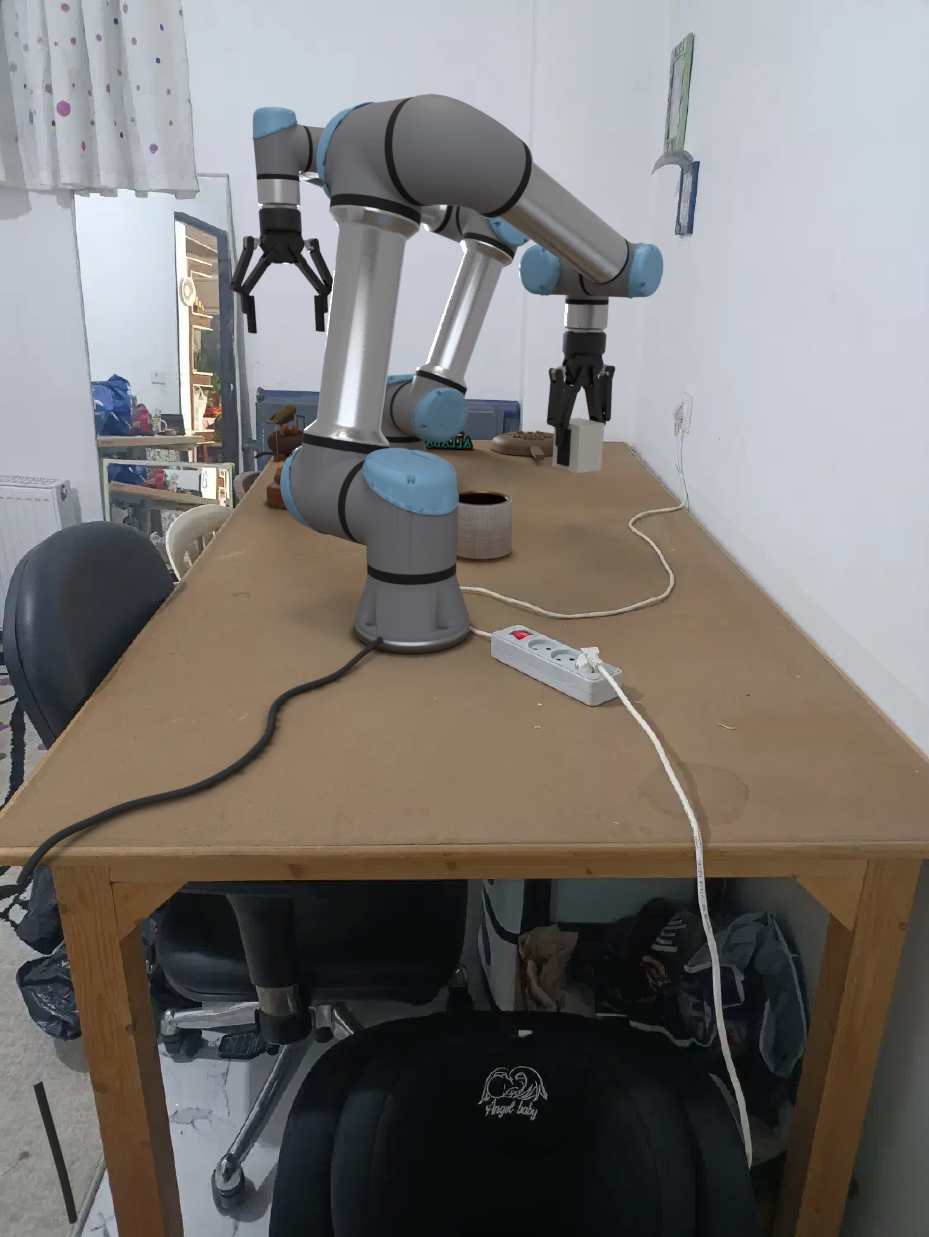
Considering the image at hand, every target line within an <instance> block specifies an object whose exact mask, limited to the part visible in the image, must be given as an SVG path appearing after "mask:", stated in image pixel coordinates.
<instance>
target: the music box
mask: <svg viewBox="0 0 929 1237" xmlns="http://www.w3.org/2000/svg"><path fill="white" fill-rule="evenodd" d="M296 414H297V408H296V406H295V405H294V404H292V403H291V404H286V405H285V406H284V408H282V409H280V410H279V411H277V412H275V413H274V414H273V415H272V416H271V417H270V418H269V420H266V421H264V424H269V425H275V429H274V430H275V431H271V432H270V433H269V435H268V436H267V439H266V443H267V447H268V448H269V451H271V452H274V453H277V455H276V456H274V455H272V458H273V459H272V460H273V463H275V464H276V463H277V468H276V471H275V473H274V475H273V481H271V482H270V483H269V484H268V485H267V486H266V501H267V504H268V505H269V506H271V507H275V508H279V509H280V508H281V509H287V508H286V506H285V504H284V501H283V498H282V494H281V486H280V480H281V472H282V469H283V466H281V467H280V462H281V463H282V462H283V464H284V463H285V461H286V459H287V458H288V457H290V456H291V455H292V452H293V451H294V450H295V449H296V448H298V447H300V446H302V440H303V432H304V429H299V428H298V425H297V424H293V425H292V426H291V429H289V425H288V424H289V423H290V422H291V423H292V421H293V422H295V415H296ZM278 425H279V426H280V427H279V429H280V430H277V428H278ZM283 425H284V426H283ZM278 454H280V455H278Z"/></svg>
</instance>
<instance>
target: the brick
mask: <svg viewBox="0 0 929 1237" xmlns="http://www.w3.org/2000/svg"><path fill="white" fill-rule="evenodd" d="M553 428H554V429H553V433H554V445H553V455H552V465H551V466H552V467H554V468H558V469H560V470H564V471H567V472H570V473H574V474H584V473H591V472H597V471H601V470H602V460H603V448H604V435H605V426H604V423H600V422H596V421H591V420H589V419H586V418H582V417H574V418H573V417H572V418H570V421H569V425H568V428H567V429H571V444H570V460H569V466H563V465H560V464H557V446H556V445H555V436H556V428H555V427H553Z"/></svg>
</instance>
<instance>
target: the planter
mask: <svg viewBox="0 0 929 1237" xmlns="http://www.w3.org/2000/svg"><path fill="white" fill-rule="evenodd" d="M458 494H459V503H458V530H457V559H458V558H459V559H461V560H466V561H471V562H472V561H473V562H488V561H496V560H499V559H502V558H505V557H506V556H508V555H509V554H510V553H511V551H512V536H513V533H512V532H513V531H512V530H513V497H512V496H511V495H509V494H507V493H504V492H499V491H494V490H482V489H480V490H476V489H475V490H462V491H458Z"/></svg>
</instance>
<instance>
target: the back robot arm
mask: <svg viewBox="0 0 929 1237" xmlns="http://www.w3.org/2000/svg"><path fill="white" fill-rule="evenodd" d="M324 129H325V127H321V126H311V125H310V126H309V125H302V124H300V123H298V120H297V115H296V113H295V111H294V110H292V109H290V108H286V107H280V106H279V107H278V106H263V107H259V108H256V109H255V110H254V112H253V113H252V140H253V141H252V142H253V151H254V162H255V163H254V164H255V173H256V174H255V175H256V191H257V192H256V193H257V194H256V195H257V205H259V206H261V208H259V210H258V222H259V233H260V234H259V238H258V237H254V236H253V235H245V236H243V238H242V251H241V253H240V256H239V259H238V261H237V264H236V267H235V269H234V272H233V276H232V277H231V279H230V283H229V285H228V289H229V290H230V291H231V292H234V293H236V294H238V295H239V298H240V310H241V313H242V314H243V315H244V314H245V315H246V323H247V333H249V334H254V335H255V334H258V329H257V328H258V327H257V326H258V325H257V313H256V300H255V299H256V298H255V295H251V293H252V291H253V289H255V287H256V285H257V284H258V283H259V281H260V279H261V278H262V277H263V275H264V274H265V272H266V271H267V269H268V268H269V267H270V266H271V265H273V264H274V265H281V264H283V265H294V266H295V267H297V268H298V270H299V271H300V272H301V274H302V275H303V276H304V277H305V279H306V280H307V281H308V283H309V284H310V285H311V286H312V288H313V289H314V291H315V292H316V293H317V294H316V295H315V294H314V295H313V301H314V302H313V304H314V305H313V306H314V323H315V324H314V325H315V332H319V333H325V332H326V324H325V323H326V321H325V314H329V296H330V294H332V286H333V278H334V277H333V275H332V274H331V272H330V269H329V267H328V265H327V263H326V261H325V258H324V256H323V255H322V252H321V247H320V240H319V239H318V238H316V237H315V238H314V237H313V238H309V239H304V238H303V224H302V212H301V210H300V209H298V208H299V207H300V206H301V203H302V202H301V187H300V186H301V185H300V183H301V182H302V183H306V184H308V185H310V186H311V185H312V186H314V187H318V188H322V185H323V182H322V180H320V179H319V177H318V172H317V149H318V144H319V141H320V137H321V135H322V133H323V130H324ZM322 189H323V188H322ZM421 224H422V225H423V227H424V229H425V230H426V231H428V232H430V233H433V234H436V235H439V236H441V237H443V238H446V239H449V240H450V241H453V242H456V243H458V244H460V246H461V248H462V250H463V256H462V259H461V262H460V265H459V268H458V271H457V274H456V277H455V279H454V282H453V285H452V288H451V290H450V293H449V297H448V300H447V303H446V305H445V308H444V311H443V314H442V317H441V320H440V322H439V326H438V328H437V332H436V334H435V337H434V341H433V343H432V346H431V348H430V352H429V355H428V358H427V361H426V363H425V364H422V365H421V366H419V367H417V368H416V371H415V373H408V374H391V375H389V374H388V377H387V385H386V392H385V399H384V407H383V414H382V421H381V431H382V433H383V435H384V436H385V438H386V439H387V440H388V442H389V443H390V445H389V448H404V449H408V450H419V451H424V452H428V448H426V445H425V441H428V442H446V441H449V440H450V441H452V440H451V439H453V438H454V437H456V436H457V435H458V434H459V433H460V432H461V431H463V429H464V427H465V426H466V424H467V421H468V419H469V418H468V417H469V407H468V405H467V404H468V401H467V399H466V398H465V397H466V394H467V391H468V388H469V387H468V385H467V383H466V380H465V376H466V373H467V370H468V367H469V365H470V362H471V359H472V356H473V353H474V351H475V348H476V344H477V342H478V339H479V336H480V333H481V330H482V327H483V325H484V322H485V319H486V317H487V314H488V311H489V308H490V305H491V302H492V299H493V296H494V294H495V291H496V288H497V285H498V282H499V280H500V277H501V274H502V271H503V269H504V268H506V267H508V266H510V265H512V264H513V262H514V259H515V256H516V254H517V250H518V248H519V247H523V246H525V244H527V243H528V242H529V241H530V240H531V239H530V238H528V237H527V236H525V235H524V234H522V233H521V232H519V231H518V230H516V229H515V228H514V227H512V226H511V225H509V224H508V223H506V222H505V221H503V220H502V219H501V218H499V217H498V218H493V219H490V218H485V217H482V216H481V215H479V214H478V213H476V212H475V211H473V210H471V209H468V208H465V207H460V206H452V205H432V206H423V209H422V215H421ZM258 247H259V248H260V249H261V251H262V252H263V253H262V254H261V256H260V257H259V259H258V261H257V263H256V264H255V266H254V267H253V269H252V270H251V272H250V274H248V276H247V278H246V279H245V277H246V275H247V271H248V269H249V266H250V264H251V262H252V258H253V255H254V252H255V251H257V249H258ZM304 248H305V249H306V251H307V252H308V253H309V256H310V258H311V260H312V262H313V264H314V266H315V269H316V271H317V273H318V275H319V276H318V275H317V273H316V272H315V271H314V269H312V267H311V266H310V265H309V263H308V261H307V259H306V258H305V257H304V255H303V254H302V252H303V250H304ZM244 280H245V281H244ZM428 453H429V452H428ZM266 455H267V456H276V455H277V453H274V452H273V451H271V450H264V451H261V452H258V453H257V454H256V455H255V456H254V457H253V459H259V458H260V457H262V456H266ZM278 455H280V454H278Z"/></svg>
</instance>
